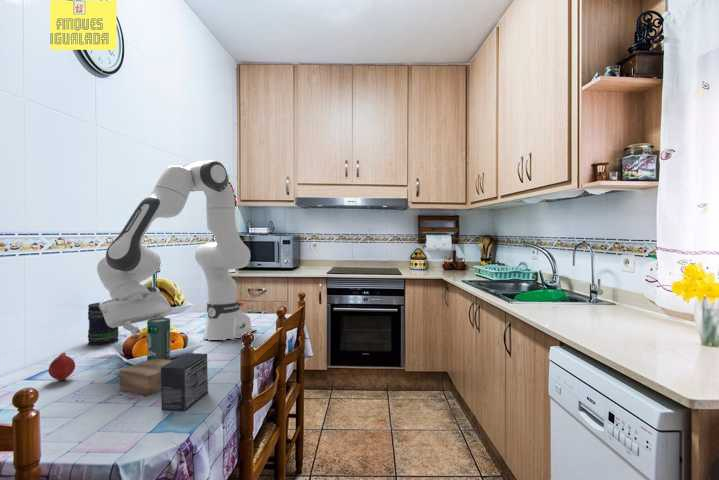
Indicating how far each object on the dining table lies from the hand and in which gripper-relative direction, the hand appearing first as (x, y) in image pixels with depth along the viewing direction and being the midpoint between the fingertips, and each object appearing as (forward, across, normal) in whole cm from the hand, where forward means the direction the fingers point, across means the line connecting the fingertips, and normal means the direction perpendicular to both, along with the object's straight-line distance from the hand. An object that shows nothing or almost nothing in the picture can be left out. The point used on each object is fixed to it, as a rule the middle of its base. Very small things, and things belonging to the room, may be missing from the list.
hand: (150, 330), depth 115 cm
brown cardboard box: (+18, -10, -1) cm, 20 cm away
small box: (+30, -14, -13) cm, 35 cm away
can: (+11, 0, +6) cm, 12 cm away
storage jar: (-21, +12, +38) cm, 45 cm away
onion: (0, -18, +17) cm, 25 cm away
